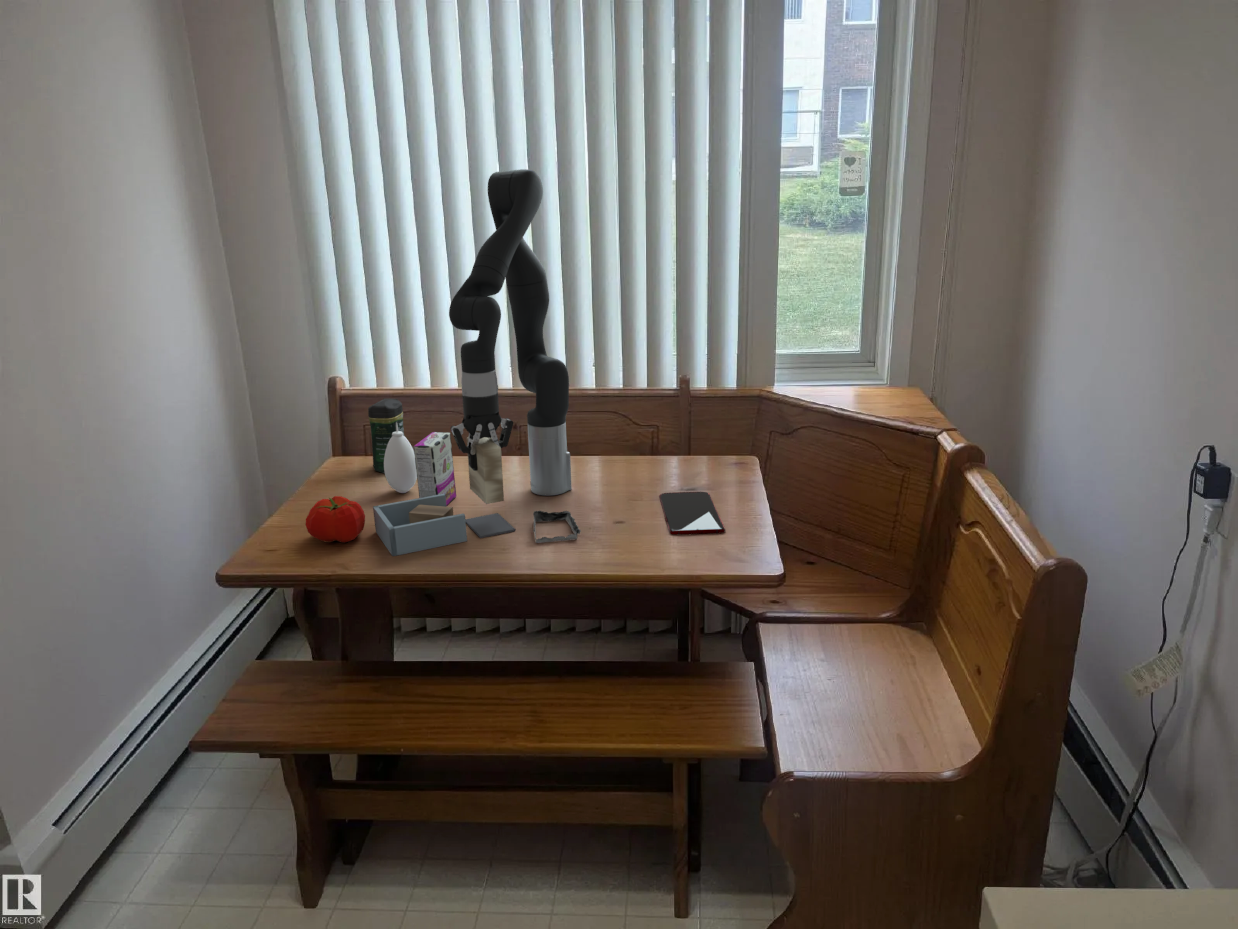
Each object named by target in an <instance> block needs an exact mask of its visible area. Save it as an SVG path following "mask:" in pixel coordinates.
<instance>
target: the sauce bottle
mask: <svg viewBox="0 0 1238 929" xmlns="http://www.w3.org/2000/svg"><path fill="white" fill-rule="evenodd" d="M384 472H385V473H384V475H385V478H386V481H387V483H388V485H389V486H390V488H392V489H393V490H395V492H397V493H400V494H405V493H407V492H409V491H410V490H411V489H412V488H413V487H414V486H415V485H416V481H418V480H417V472H416V464H415V454H414V447H413V445H411V442H410V441H409V440H408V439H407V437H406V436H405V435H404V436H403V432H401V431H398V425H397V422H396V431H395V432H393V433H392V437H391V439H390V440H389V442H388V445H387V448H386V451H385V456H384Z"/></svg>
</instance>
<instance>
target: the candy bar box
mask: <svg viewBox="0 0 1238 929" xmlns="http://www.w3.org/2000/svg"><path fill="white" fill-rule="evenodd" d="M412 448H413V450H414V454H415V464H416V472H417V480H416V481H417V488H418V496H419V497H418V498H423V497H428V496H434V495H439V494H445V496H446V507H448V505H449V504H450V503H451V502H452V501H453V500H454V499H455V498H456V497H457V489H456V488H457V487H456V480H455V468H454V458H453V450H452V438H451V432H442V431H439V432H438V431H433V432H431V433H429V434H428V435H427V436H426V437H424V438H423V439H422V440H420V441H419V442H417V443H416V444H414V445H412Z"/></svg>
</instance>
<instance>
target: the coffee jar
mask: <svg viewBox="0 0 1238 929" xmlns="http://www.w3.org/2000/svg"><path fill="white" fill-rule="evenodd" d="M367 410H368V411H367V414H368V416H367V417H368V420H369V426H370V435H371V446H372V448H371V450H372V451H371V452H372V466H373V470H374V471H375V472H379V473H382V474H385V472H384V456H385V451H386V448H387V445H388V442H389V440H390V439H391V437H392V433H393V432H395V431H396V422H397V425H398V431H401V432H403V436H405V429H404V410H403V403H402V401H400V400H399V399H398V398H383V399H382V400H380V401H379V400H378V401H377V402H376V403H374V404H372V405H370V406H369V407H368V408H367Z"/></svg>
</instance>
